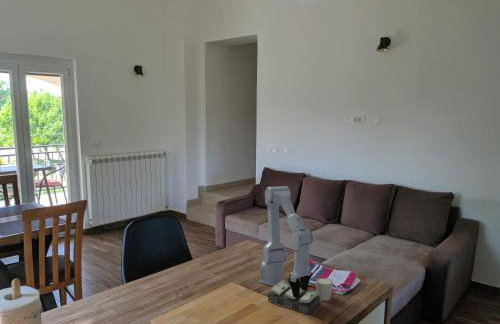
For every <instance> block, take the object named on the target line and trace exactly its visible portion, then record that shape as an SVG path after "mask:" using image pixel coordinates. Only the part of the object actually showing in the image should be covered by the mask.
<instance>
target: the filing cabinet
mask: <svg viewBox="0 0 500 324" xmlns="http://www.w3.org/2000/svg"><path fill="white" fill-rule="evenodd" d="M290 289H291V286H290V287H289V288H288V289H287V290H285V291H284V292H283V293H282V294H280V295H277V294H275V293H274V292H272V291H270V293H268V295H267V296H268V297H267V301H271V302H274V303H277V304H280V305H283V306H286V307H285V308H287V307H289V308H288V309H290V308H292V309H291V310H293V309H295V310H294V311H296V310H297V311H296V312H299V311H300V312H299V313H302V314H305V315H307V316H308V315H309V314H311V313H312V311H314V309H316V308H317V307H318V305H319V304H320V303H321V300H320V296H318V295H317V296H316V297H315V298H313V299H312V300H311V301H310V302H309V303H307V302H300V299H301V298H302V297H303V296H304V295H305V294H306V293H307V292H308V291H305V290H304V291H303V292H302V293H301V294H300V295H299V297H298V298H295V299H294V300H293V299H291V298H289V297H287V296H285V293H286V292H287V291H289V290H290ZM271 302H270V303H271ZM274 303H273V304H274ZM277 304H276V305H277ZM280 305H279V306H280ZM283 306H282V307H283Z"/></svg>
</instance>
